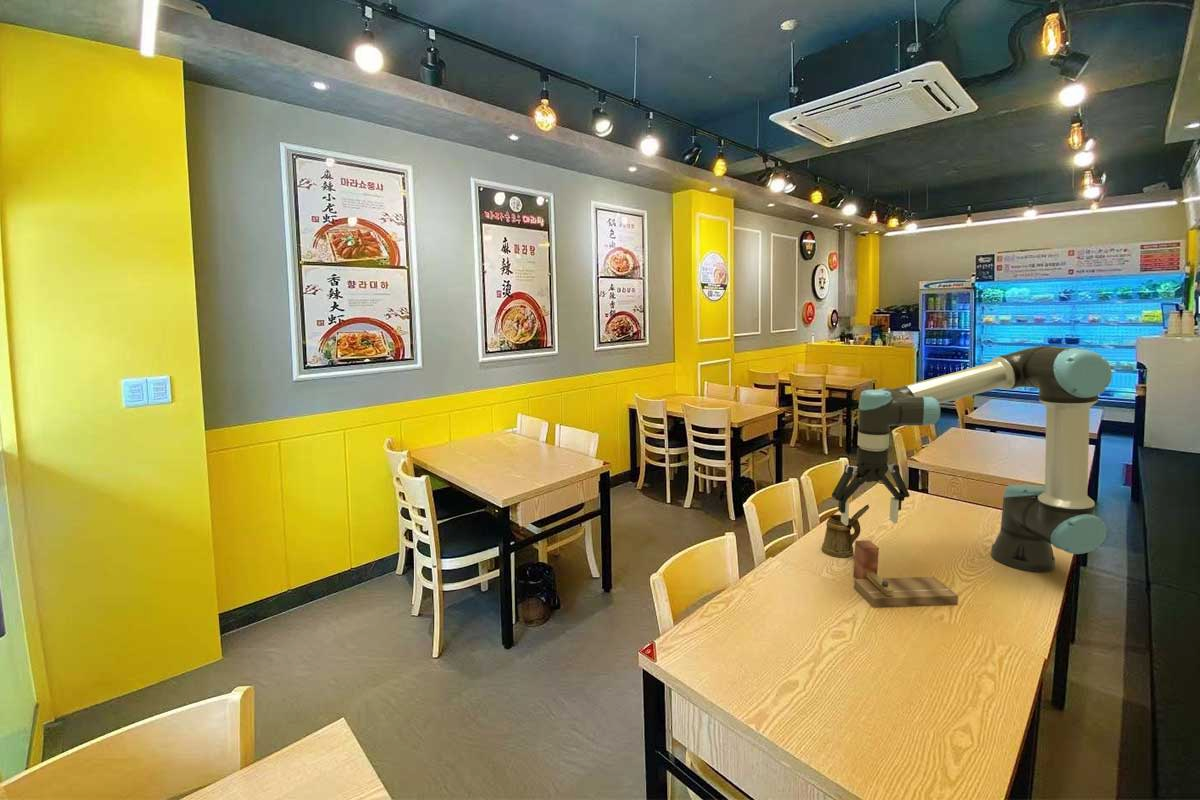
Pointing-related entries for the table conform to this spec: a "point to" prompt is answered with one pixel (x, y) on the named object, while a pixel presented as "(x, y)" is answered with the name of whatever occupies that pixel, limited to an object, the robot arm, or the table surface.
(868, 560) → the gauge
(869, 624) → the table surface
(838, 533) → the wooden mug
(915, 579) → the board
